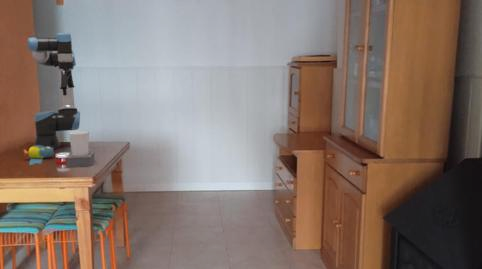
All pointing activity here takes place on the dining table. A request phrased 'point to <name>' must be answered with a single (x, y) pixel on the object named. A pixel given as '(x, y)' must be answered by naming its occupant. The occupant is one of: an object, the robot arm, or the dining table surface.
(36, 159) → the yellow and blue toy
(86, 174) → the dining table surface
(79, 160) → the block
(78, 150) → the candle holder
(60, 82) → the robot arm
